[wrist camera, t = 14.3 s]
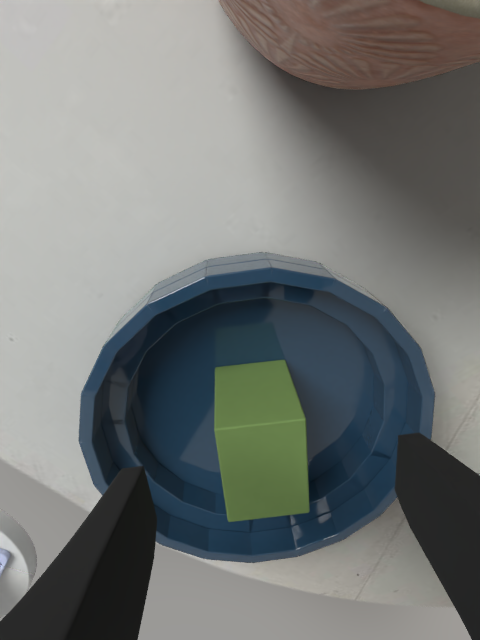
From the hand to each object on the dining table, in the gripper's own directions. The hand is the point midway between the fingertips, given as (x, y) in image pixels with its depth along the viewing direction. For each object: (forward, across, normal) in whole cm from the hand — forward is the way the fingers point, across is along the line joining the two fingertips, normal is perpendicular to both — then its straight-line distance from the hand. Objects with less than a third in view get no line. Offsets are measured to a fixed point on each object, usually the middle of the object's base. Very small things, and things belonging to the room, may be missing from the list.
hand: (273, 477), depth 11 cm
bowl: (+9, 0, +4) cm, 10 cm away
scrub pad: (+9, 0, +4) cm, 9 cm away
